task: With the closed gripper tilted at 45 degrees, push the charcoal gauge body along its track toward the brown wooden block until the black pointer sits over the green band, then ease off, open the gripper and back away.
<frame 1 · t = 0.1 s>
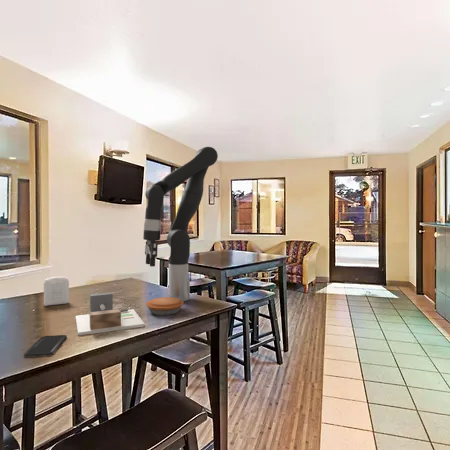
hand: (150, 265, 155), 17 cm above the table, tool pointing down, fingers open, 8 cm apart
photo printer: (56, 304, 154), on the table
brown wooden block: (105, 319, 120), point 4 cm above the table
gauge carriage: (110, 304, 132), point 6 cm above the table, slide at 0.0 cm
phone: (46, 348, 104), on the table
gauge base: (102, 321, 128), on the table
pie: (164, 312, 143), on the table
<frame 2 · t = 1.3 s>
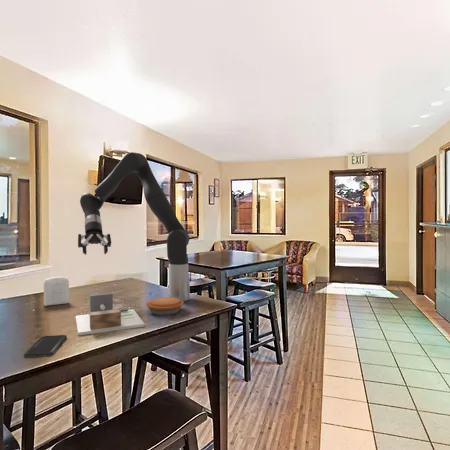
hand: (95, 253, 151), 23 cm above the table, tool tilted 45°, fingers open, 8 cm apart
nothing on the table moved.
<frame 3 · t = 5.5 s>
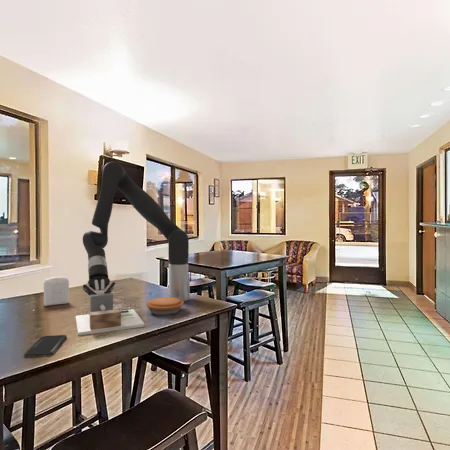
hand: (101, 304, 133), 5 cm above the table, tool tilted 45°, fingers closed
gauge carriage: (110, 305, 131), point 6 cm above the table, slide at 1.1 cm, touching gripper
everything else where it was.
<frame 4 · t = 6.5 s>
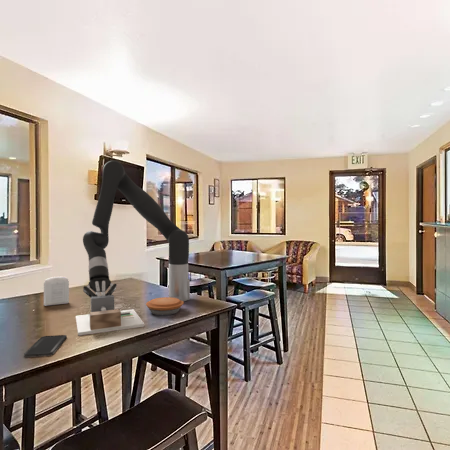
hand: (101, 307, 130), 5 cm above the table, tool tilted 45°, fingers closed
gauge carriage: (111, 307, 128), point 6 cm above the table, slide at 4.6 cm, touching gripper
everything else where it was.
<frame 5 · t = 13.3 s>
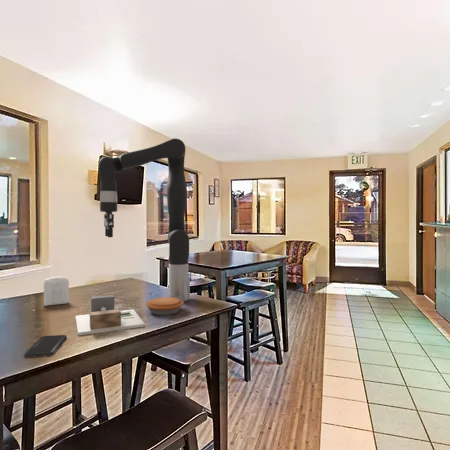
hand: (108, 236, 157), 30 cm above the table, tool pointing down, fingers open, 8 cm apart
gauge carriage: (111, 307, 128), point 5 cm above the table, slide at 4.6 cm
everything else where it was.
at the end: gauge carriage slide at 4.6 cm; the gripper is holding nothing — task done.
